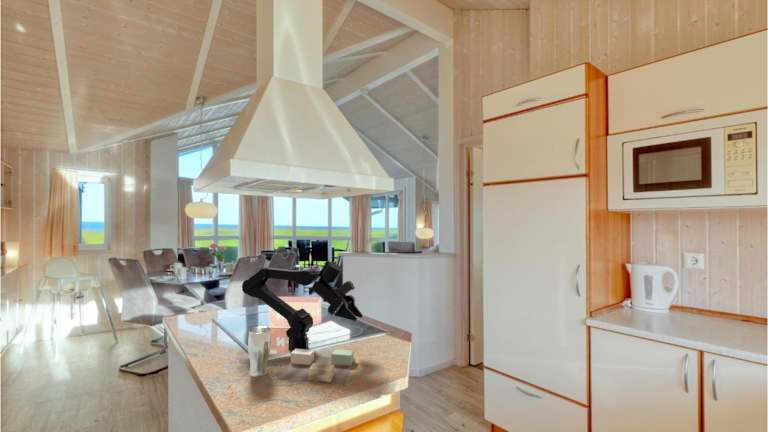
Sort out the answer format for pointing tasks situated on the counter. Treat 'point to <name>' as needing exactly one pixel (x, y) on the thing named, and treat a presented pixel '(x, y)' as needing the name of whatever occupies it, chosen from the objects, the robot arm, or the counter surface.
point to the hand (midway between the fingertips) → (359, 318)
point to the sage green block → (342, 357)
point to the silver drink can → (259, 350)
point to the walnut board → (302, 371)
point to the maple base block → (321, 372)
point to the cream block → (302, 356)
